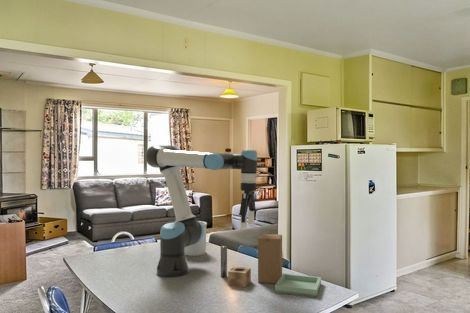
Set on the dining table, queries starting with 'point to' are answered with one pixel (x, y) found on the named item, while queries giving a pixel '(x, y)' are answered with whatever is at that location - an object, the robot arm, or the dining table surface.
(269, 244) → the wooden block
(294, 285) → the tray
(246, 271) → the wooden socket block
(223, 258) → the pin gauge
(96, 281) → the dining table surface
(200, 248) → the utensil holder
